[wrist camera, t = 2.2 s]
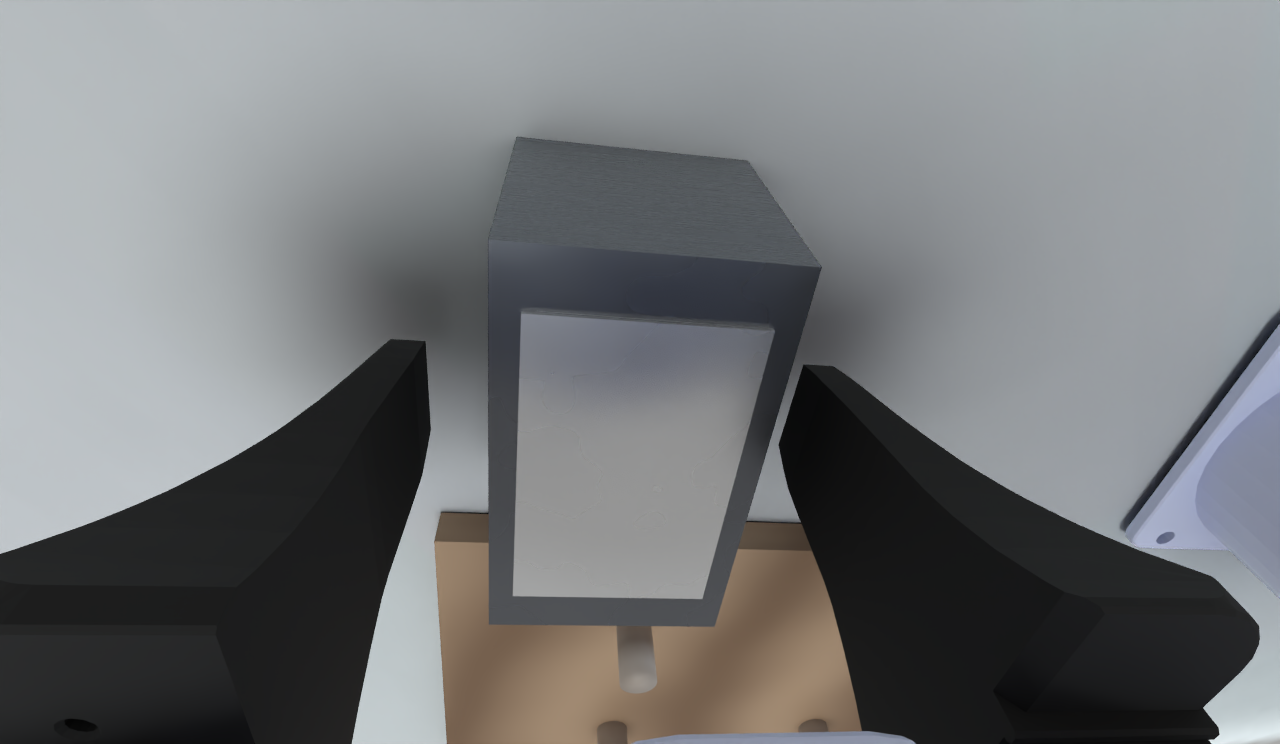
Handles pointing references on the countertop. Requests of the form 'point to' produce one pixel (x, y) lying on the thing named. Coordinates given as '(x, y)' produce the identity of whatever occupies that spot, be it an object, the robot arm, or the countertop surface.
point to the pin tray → (644, 656)
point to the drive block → (631, 378)
